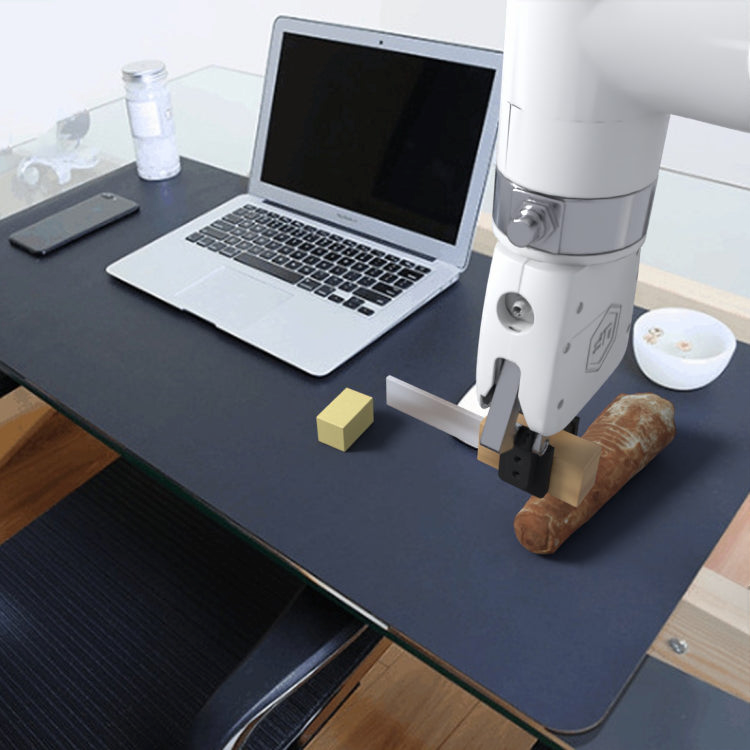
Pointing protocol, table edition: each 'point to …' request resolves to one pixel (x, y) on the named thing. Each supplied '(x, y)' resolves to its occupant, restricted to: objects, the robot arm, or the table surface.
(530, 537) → the bread
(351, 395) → the butter
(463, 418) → the knife
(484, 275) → the table surface
